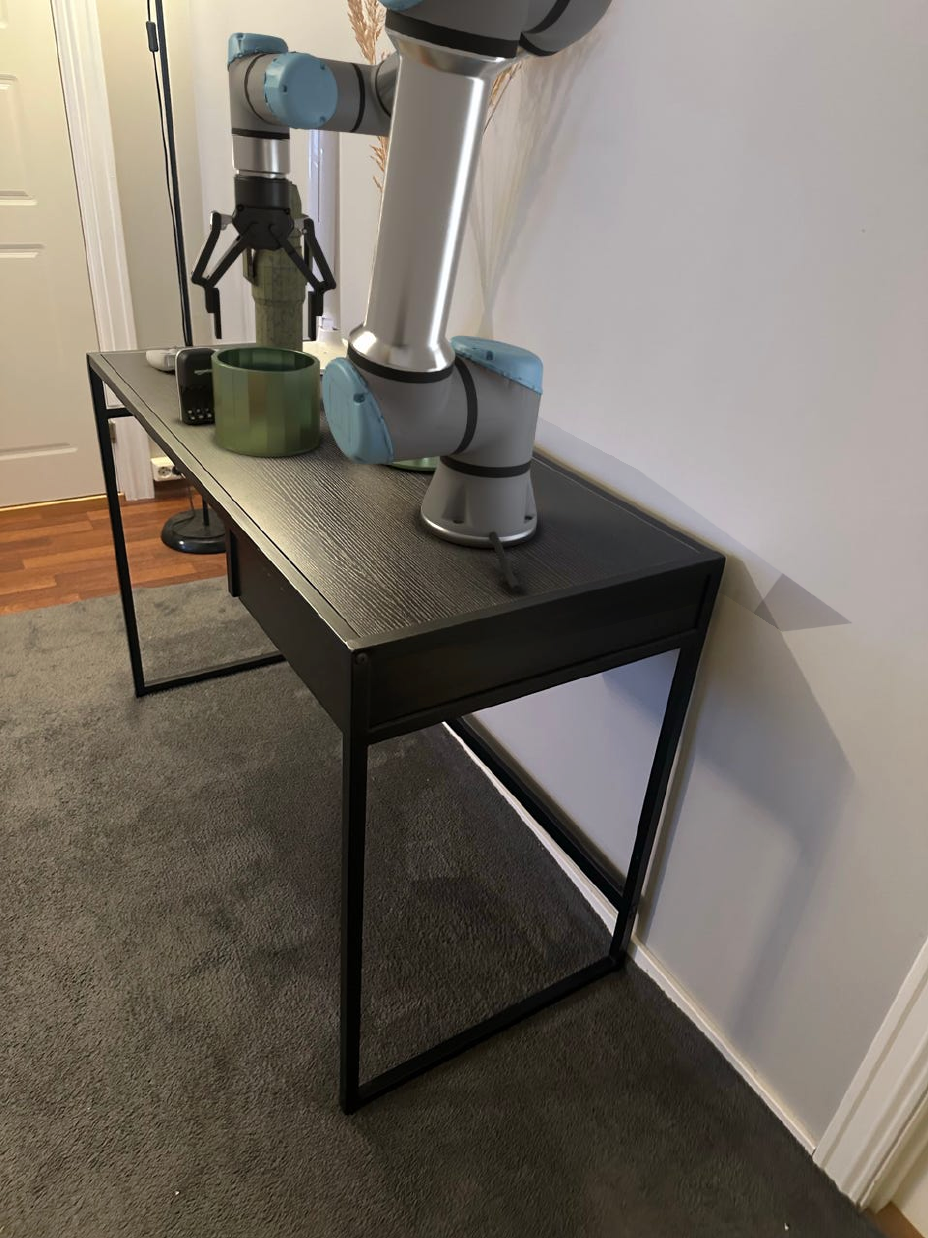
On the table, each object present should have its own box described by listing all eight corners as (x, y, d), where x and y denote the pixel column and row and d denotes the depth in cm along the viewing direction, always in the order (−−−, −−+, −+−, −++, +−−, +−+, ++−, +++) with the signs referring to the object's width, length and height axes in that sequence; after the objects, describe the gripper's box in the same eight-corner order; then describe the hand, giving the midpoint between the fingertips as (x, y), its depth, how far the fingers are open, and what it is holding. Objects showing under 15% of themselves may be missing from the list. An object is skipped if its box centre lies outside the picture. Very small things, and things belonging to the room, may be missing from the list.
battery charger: (188, 427, 131) (182, 353, 125) (177, 420, 133) (171, 348, 128) (229, 422, 135) (225, 350, 130) (218, 415, 138) (214, 344, 132)
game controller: (217, 344, 166) (230, 345, 158) (220, 367, 167) (232, 369, 159) (142, 345, 159) (151, 346, 151) (145, 369, 161) (154, 371, 152)
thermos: (237, 399, 146) (227, 175, 129) (294, 391, 154) (292, 178, 136) (264, 413, 141) (258, 181, 123) (322, 404, 148) (324, 184, 131)
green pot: (328, 455, 126) (329, 372, 120) (222, 458, 121) (217, 372, 115) (308, 423, 139) (308, 346, 132) (211, 424, 133) (207, 344, 127)
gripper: (346, 179, 119) (343, 333, 129) (162, 164, 110) (175, 330, 121) (359, 184, 113) (355, 345, 123) (165, 168, 104) (178, 342, 115)
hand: (266, 338), depth 122 cm, fingers open, 13 cm apart
